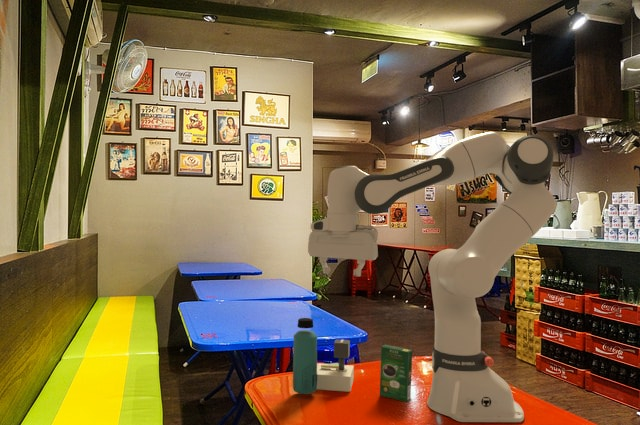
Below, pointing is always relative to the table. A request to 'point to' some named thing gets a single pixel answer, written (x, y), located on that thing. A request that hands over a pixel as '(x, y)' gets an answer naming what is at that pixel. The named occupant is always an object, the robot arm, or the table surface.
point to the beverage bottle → (305, 358)
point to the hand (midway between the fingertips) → (341, 274)
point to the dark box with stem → (340, 353)
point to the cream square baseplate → (335, 378)
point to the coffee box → (395, 373)
